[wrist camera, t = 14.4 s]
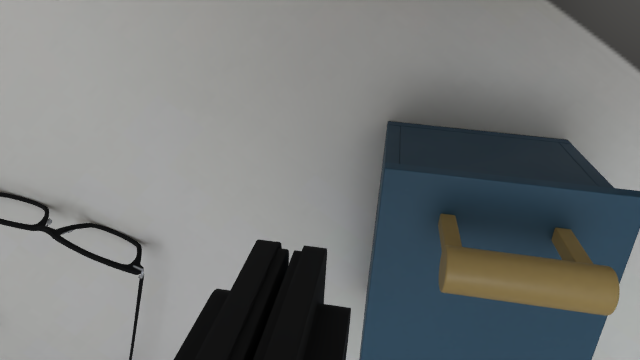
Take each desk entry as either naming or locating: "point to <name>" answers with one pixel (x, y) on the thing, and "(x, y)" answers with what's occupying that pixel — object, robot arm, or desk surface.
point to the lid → (494, 266)
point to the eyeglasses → (55, 234)
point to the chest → (485, 157)
